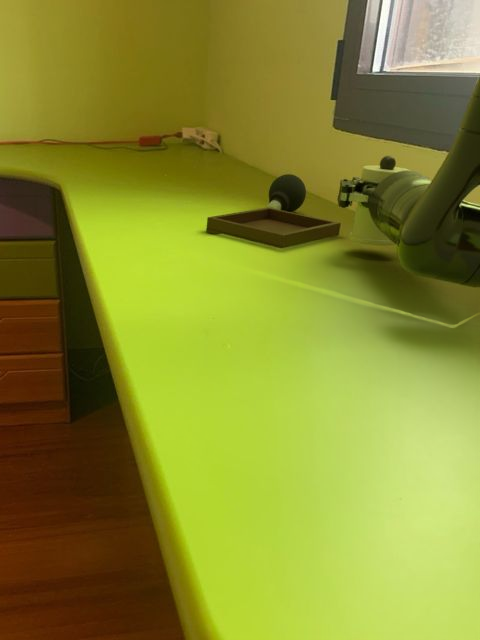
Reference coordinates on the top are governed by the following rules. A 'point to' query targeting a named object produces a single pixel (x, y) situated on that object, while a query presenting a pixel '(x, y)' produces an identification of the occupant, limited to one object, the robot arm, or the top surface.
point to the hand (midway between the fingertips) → (378, 186)
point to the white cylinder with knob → (363, 222)
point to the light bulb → (287, 193)
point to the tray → (273, 227)
